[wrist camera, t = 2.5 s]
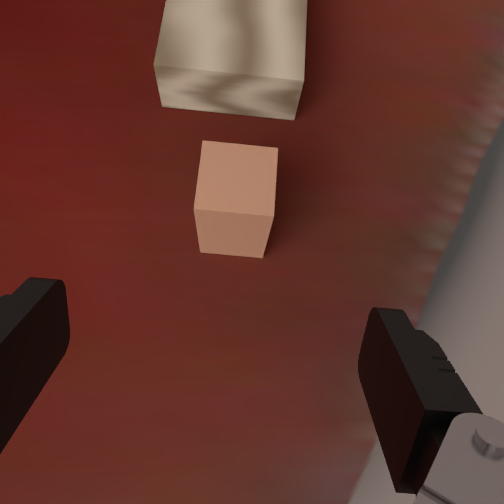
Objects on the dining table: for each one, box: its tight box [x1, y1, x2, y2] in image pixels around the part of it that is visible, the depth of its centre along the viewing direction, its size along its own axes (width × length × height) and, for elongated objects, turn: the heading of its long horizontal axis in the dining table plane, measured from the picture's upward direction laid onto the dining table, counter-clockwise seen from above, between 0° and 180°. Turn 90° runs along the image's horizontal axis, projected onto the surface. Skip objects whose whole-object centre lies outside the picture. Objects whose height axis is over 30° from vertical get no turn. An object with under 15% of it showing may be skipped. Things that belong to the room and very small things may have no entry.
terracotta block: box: [194, 141, 278, 258], centre depth 31 cm, size 5×5×8 cm
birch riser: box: [154, 0, 307, 120], centre depth 39 cm, size 12×16×5 cm
